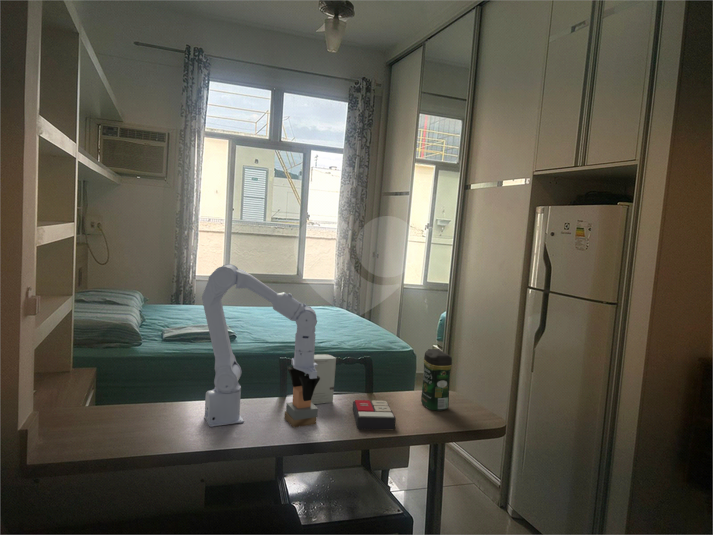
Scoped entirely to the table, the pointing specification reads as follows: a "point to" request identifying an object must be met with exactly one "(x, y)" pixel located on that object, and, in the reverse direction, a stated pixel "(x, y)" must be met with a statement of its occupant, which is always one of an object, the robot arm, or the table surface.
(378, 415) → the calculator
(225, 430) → the table surface
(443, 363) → the coffee jar
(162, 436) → the table surface
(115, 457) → the table surface
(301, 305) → the robot arm
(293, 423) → the tower base slab
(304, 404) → the terracotta block
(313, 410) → the tower top slab
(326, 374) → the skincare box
